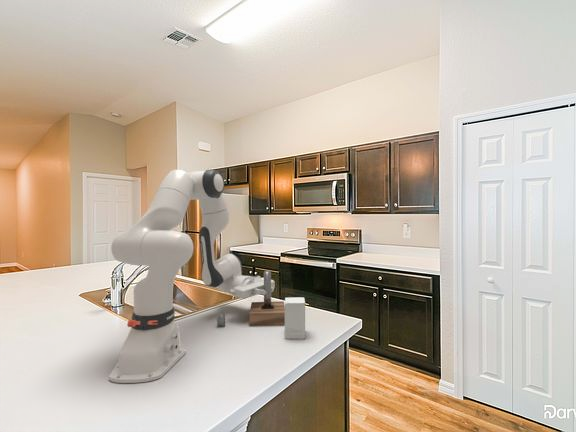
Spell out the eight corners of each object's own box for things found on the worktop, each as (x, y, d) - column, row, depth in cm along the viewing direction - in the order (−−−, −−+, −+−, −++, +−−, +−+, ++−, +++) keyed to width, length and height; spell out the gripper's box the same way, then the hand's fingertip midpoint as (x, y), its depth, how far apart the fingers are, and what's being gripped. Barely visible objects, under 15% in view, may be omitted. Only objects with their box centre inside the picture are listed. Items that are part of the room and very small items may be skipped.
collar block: (285, 325, 116) (285, 312, 116) (249, 326, 116) (249, 313, 116) (283, 312, 130) (283, 301, 130) (251, 313, 130) (251, 302, 130)
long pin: (271, 316, 122) (271, 272, 121) (263, 316, 122) (263, 272, 121) (271, 313, 125) (271, 270, 124) (264, 313, 125) (263, 271, 124)
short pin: (224, 327, 115) (224, 315, 115) (216, 327, 114) (216, 316, 114) (225, 324, 118) (225, 313, 118) (217, 324, 117) (217, 313, 117)
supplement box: (305, 339, 104) (305, 303, 104) (284, 339, 104) (284, 303, 104) (304, 330, 111) (304, 296, 111) (285, 330, 111) (284, 296, 111)
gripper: (226, 283, 122) (251, 289, 114) (260, 274, 139) (284, 278, 130) (227, 299, 122) (251, 305, 114) (260, 288, 139) (284, 293, 130)
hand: (269, 291), depth 122 cm, fingers closed on long pin, 3 cm apart
